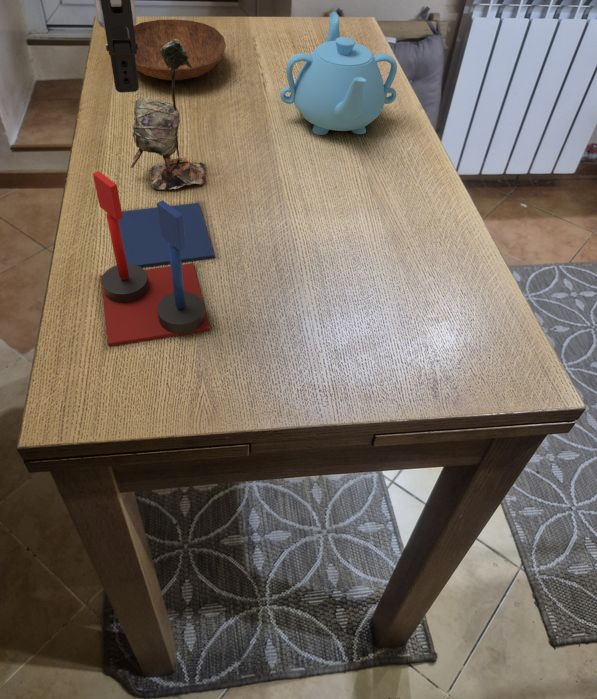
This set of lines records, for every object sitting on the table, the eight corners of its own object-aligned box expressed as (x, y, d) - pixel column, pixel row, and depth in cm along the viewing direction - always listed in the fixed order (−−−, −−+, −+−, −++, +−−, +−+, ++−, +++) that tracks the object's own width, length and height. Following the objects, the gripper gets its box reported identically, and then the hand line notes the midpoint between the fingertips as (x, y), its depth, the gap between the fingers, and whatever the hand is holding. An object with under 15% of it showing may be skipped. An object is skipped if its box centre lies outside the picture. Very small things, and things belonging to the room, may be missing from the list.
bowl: (117, 96, 110) (113, 68, 107) (127, 42, 125) (124, 16, 121) (227, 97, 113) (226, 70, 109) (225, 45, 127) (224, 19, 123)
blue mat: (124, 270, 81) (123, 267, 80) (115, 215, 88) (115, 212, 88) (214, 258, 83) (214, 255, 83) (199, 205, 91) (198, 202, 90)
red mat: (108, 347, 72) (107, 343, 72) (101, 278, 79) (100, 275, 79) (210, 330, 75) (209, 327, 74) (193, 266, 82) (193, 262, 82)
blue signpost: (178, 340, 73) (164, 233, 61) (149, 315, 75) (130, 206, 63) (214, 317, 75) (208, 210, 63) (185, 294, 78) (174, 186, 66)
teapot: (326, 87, 118) (334, 9, 107) (408, 127, 110) (425, 47, 99) (266, 115, 109) (269, 33, 99) (351, 161, 101) (363, 77, 91)
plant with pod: (140, 159, 98) (121, 28, 83) (211, 166, 98) (205, 36, 83) (127, 189, 92) (104, 54, 77) (202, 196, 92) (194, 62, 77)
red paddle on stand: (121, 310, 75) (97, 200, 63) (94, 286, 78) (66, 177, 66) (158, 288, 78) (142, 180, 66) (131, 266, 80) (111, 158, 68)
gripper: (45, -150, 54) (81, 41, 66) (48, -104, 45) (88, 107, 57) (133, -148, 55) (152, 39, 68) (152, -103, 47) (170, 102, 59)
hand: (123, 70), depth 62 cm, fingers open, 8 cm apart
